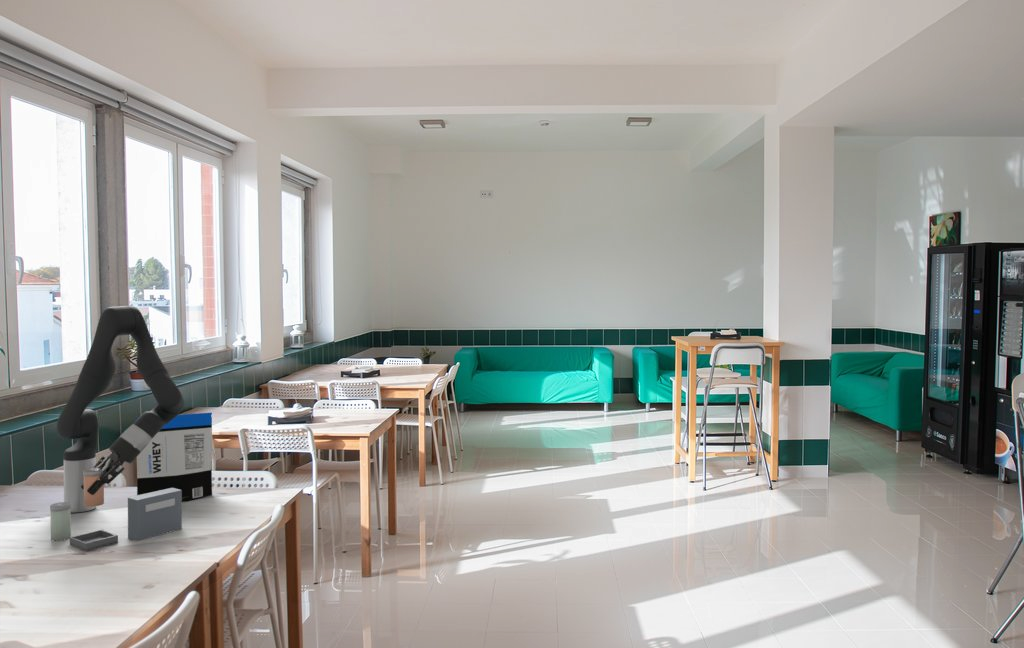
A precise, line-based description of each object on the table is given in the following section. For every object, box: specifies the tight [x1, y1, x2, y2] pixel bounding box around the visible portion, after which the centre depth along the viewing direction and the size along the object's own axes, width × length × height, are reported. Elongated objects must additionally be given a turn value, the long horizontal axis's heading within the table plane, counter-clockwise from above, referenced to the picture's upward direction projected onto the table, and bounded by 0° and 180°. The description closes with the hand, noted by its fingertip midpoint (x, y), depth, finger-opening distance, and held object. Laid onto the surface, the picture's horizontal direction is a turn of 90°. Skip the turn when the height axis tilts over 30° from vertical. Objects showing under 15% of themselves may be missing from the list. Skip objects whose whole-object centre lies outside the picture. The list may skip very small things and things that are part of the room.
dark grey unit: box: [127, 488, 183, 542], centre depth 221 cm, size 6×14×12 cm, turn 146°
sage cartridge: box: [49, 501, 72, 541], centre depth 215 cm, size 5×5×10 cm
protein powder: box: [135, 412, 213, 503], centre depth 257 cm, size 10×24×30 cm, turn 123°
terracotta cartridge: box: [83, 468, 105, 507], centre depth 210 cm, size 5×5×10 cm
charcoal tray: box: [69, 529, 119, 552], centre depth 211 cm, size 9×9×2 cm
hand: (86, 491), depth 209 cm, fingers closed on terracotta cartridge, 5 cm apart
